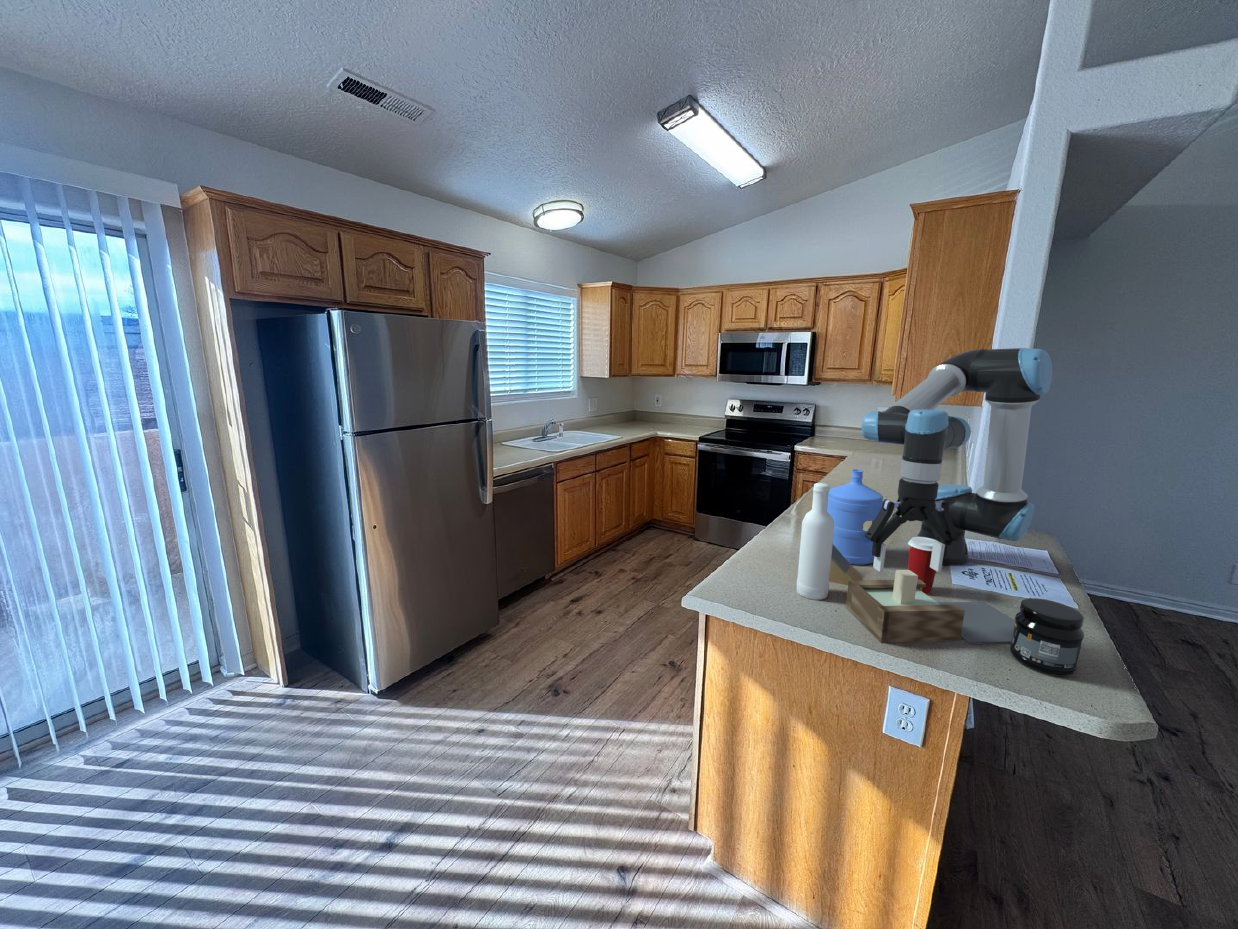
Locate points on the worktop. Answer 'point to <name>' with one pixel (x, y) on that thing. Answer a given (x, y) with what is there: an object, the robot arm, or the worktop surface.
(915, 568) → the paper cup
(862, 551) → the water jug
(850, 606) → the walnut box
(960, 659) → the worktop surface
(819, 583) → the bottle
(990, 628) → the charcoal mat
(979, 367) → the robot arm
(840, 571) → the sandwich container
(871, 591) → the cover plate
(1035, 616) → the supplement container
